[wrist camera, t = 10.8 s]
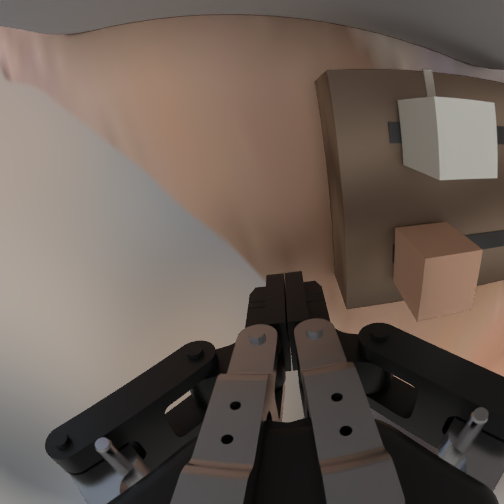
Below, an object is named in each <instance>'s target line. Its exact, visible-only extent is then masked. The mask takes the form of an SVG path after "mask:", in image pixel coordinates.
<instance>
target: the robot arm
mask: <svg viewBox="0 0 504 504" xmlns="http://www.w3.org/2000/svg"><path fill="white" fill-rule="evenodd" d="M285 285H286V288H285ZM290 347H291V352H290ZM291 355H292V364H293V370H298V376H299V388H300V394H301V400H302V406H303V412H304V419H301V420H297V421H293V422H289V423H285V422H282V415H283V405H284V393H285V383H284V382H285V378H286V377H285V371H291ZM393 375H395V376H397V377H399V378H400V379H402V380H404V381H406V382H408V383H410V384H411V385H413V386H414V387H415V388H414V387H412V386H410V385H409V384H407V383H405V382H403V381H401V380H400V379H398V378H396V377H394V376H393ZM189 390H190V392H191V395H190V396H189V397H187V398H186V399H185V400H183V401H182V402H181V403H179V404H178V405H177V406H176V407H174V408H173V409H171V410H170V411H169V412H167V413H166V414H165V410H166V409H167V407H168V406H169V405H170V404H172V403H173V402H174V401H176V400H177V399H178V398H180V397H181V396H182V395H184V394H185V393H187V392H188V391H189ZM371 408H372V409H373V410H375V411H376V412H378V413H380V414H381V415H383V416H384V417H386V418H387V419H389V420H391V421H392V422H394V423H396V424H397V425H399V426H400V427H402V428H404V429H405V430H407V431H409V432H410V433H412V434H414V435H415V436H417V437H419V438H420V439H422V440H424V441H425V442H427V443H429V444H430V445H432V446H434V447H436V448H437V449H438V456H437V455H436V454H434V453H432V452H430V451H429V450H427V449H426V448H425V447H423V446H421V445H420V444H418V443H417V442H415V441H414V440H412V439H411V438H409V437H407V436H406V435H404V434H403V433H402V432H400V431H399V430H397V429H396V428H394V427H393V426H391V425H389V424H387V423H385V422H383V421H380V420H377V419H374V417H373V414H372V411H371ZM45 449H46V452H47V453H48V455H49V456H50V457H51V458H52V459H53V460H54V461H55V462H56V463H57V464H59V465H60V466H61V468H62V469H63V470H64V471H65V472H66V473H67V474H68V475H70V476H71V477H72V479H73V481H74V482H75V484H76V486H77V488H78V489H79V491H80V493H81V494H82V496H83V497H84V499H85V501H86V502H87V504H499V503H498V500H497V498H496V496H495V494H494V493H493V490H494V489H495V487H496V485H497V483H498V482H499V480H500V478H501V476H502V474H503V473H504V377H503V376H501V375H499V374H496V373H494V372H492V371H490V370H487V369H485V368H483V367H481V366H479V365H476V364H474V363H472V362H470V361H468V360H465V359H463V358H461V357H459V356H457V355H454V354H452V353H450V352H448V351H446V350H444V349H441V348H439V347H437V346H435V345H433V344H430V343H428V342H426V341H424V340H422V339H420V338H417V337H415V336H413V335H411V334H409V333H407V332H404V331H402V330H400V329H398V328H396V327H394V326H391V325H389V324H385V323H373V324H369V325H367V326H365V327H363V328H362V329H361V330H360V332H359V334H348V333H343V332H341V331H338V330H337V329H335V327H334V325H333V324H332V323H331V322H330V318H329V314H328V310H327V306H326V302H325V298H324V295H323V290H322V286H320V285H319V284H318V283H317V282H316V281H310V282H303V277H302V271H298V272H289V273H285V280H284V274H283V273H281V274H273V275H267V277H266V287H258V288H255V289H254V290H253V291H252V293H251V294H250V297H249V304H248V312H247V319H246V326H245V329H243V330H242V331H241V332H240V333H239V334H238V337H237V340H236V342H235V343H234V344H232V345H229V346H226V347H223V348H219V349H216V350H215V347H214V345H212V344H211V343H209V342H207V341H195V342H190V343H188V344H186V345H184V346H183V347H181V348H180V349H178V350H177V351H175V352H174V353H172V354H171V355H169V356H168V357H166V358H165V359H163V360H162V361H161V362H159V363H158V364H156V365H155V366H153V367H151V368H150V369H149V370H147V371H146V372H144V373H142V374H141V375H139V376H138V377H136V378H135V379H133V380H132V381H130V382H129V383H127V384H126V385H124V386H123V387H121V388H120V389H118V390H117V391H115V392H113V393H112V394H110V395H109V396H107V397H106V398H104V399H103V400H101V401H99V402H98V403H96V404H95V405H93V406H91V407H90V408H88V409H87V410H85V411H83V412H82V413H80V414H79V415H77V416H75V417H74V418H72V419H70V420H69V421H67V422H66V423H64V424H62V425H61V426H59V427H57V428H56V429H54V430H53V431H52V432H51V433H50V434H49V435H48V437H47V439H46V443H45Z"/></svg>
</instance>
